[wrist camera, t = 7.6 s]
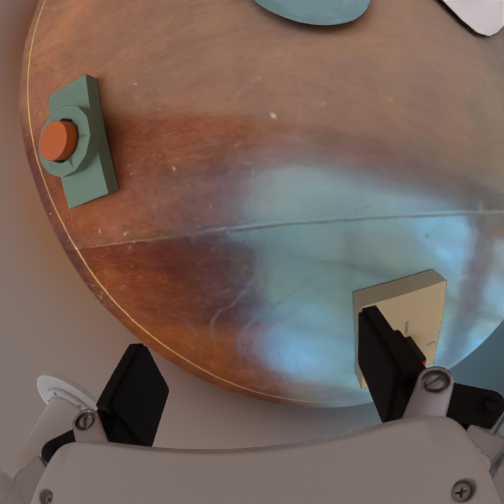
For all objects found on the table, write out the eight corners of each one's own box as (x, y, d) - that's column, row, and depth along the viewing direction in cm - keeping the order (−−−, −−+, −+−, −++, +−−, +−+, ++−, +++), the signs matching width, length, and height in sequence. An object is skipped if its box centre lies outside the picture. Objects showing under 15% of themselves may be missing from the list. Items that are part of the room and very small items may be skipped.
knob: (406, 367, 26) (421, 390, 22) (396, 371, 26) (410, 395, 22) (410, 335, 25) (427, 359, 21) (399, 339, 25) (415, 364, 21)
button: (81, 150, 18) (69, 151, 17) (55, 165, 19) (43, 167, 17) (75, 115, 17) (63, 113, 16) (49, 131, 18) (37, 131, 16)
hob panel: (422, 353, 29) (432, 367, 26) (355, 376, 30) (361, 393, 27) (432, 269, 25) (447, 280, 22) (352, 291, 26) (362, 307, 23)
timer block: (125, 188, 23) (104, 194, 19) (76, 206, 23) (53, 215, 20) (102, 75, 19) (80, 66, 15) (56, 102, 20) (32, 99, 16)
